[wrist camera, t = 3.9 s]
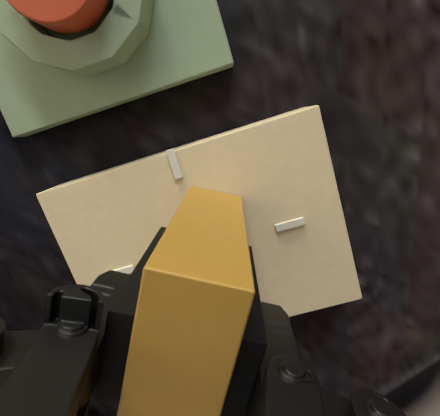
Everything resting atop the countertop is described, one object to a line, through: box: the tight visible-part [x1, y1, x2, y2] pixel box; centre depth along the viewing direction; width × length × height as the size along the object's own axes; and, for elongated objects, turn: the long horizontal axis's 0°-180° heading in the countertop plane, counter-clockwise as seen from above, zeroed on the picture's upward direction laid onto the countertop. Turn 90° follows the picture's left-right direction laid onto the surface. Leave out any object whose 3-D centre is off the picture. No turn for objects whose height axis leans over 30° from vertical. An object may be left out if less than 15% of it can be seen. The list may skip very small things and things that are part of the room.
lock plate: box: [36, 105, 362, 317], centre depth 18 cm, size 14×10×3 cm
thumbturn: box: [117, 186, 255, 416], centre depth 12 cm, size 6×2×9 cm, turn 167°
